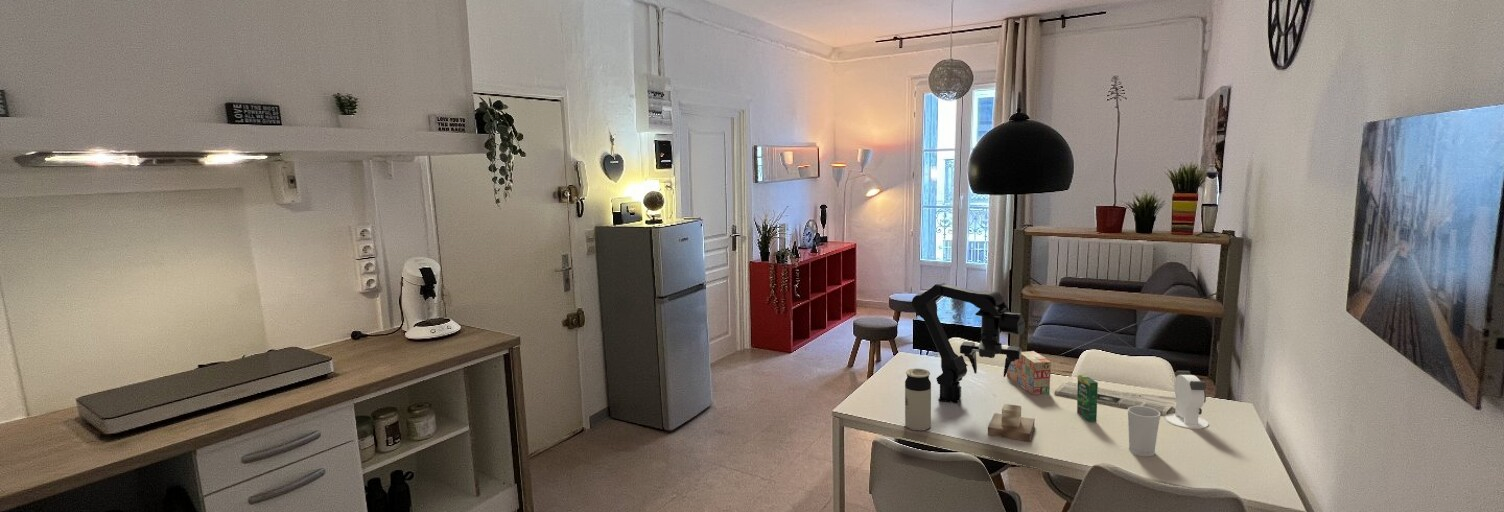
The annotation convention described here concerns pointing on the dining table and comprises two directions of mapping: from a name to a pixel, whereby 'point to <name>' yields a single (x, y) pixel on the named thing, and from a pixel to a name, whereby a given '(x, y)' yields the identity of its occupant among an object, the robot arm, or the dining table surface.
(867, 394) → the dining table surface
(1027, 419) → the walnut base slab
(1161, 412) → the newspaper
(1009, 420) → the maple cube
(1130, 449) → the cup
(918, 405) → the travel mug
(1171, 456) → the dining table surface
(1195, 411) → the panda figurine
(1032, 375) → the stack of blocks
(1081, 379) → the coffee box
